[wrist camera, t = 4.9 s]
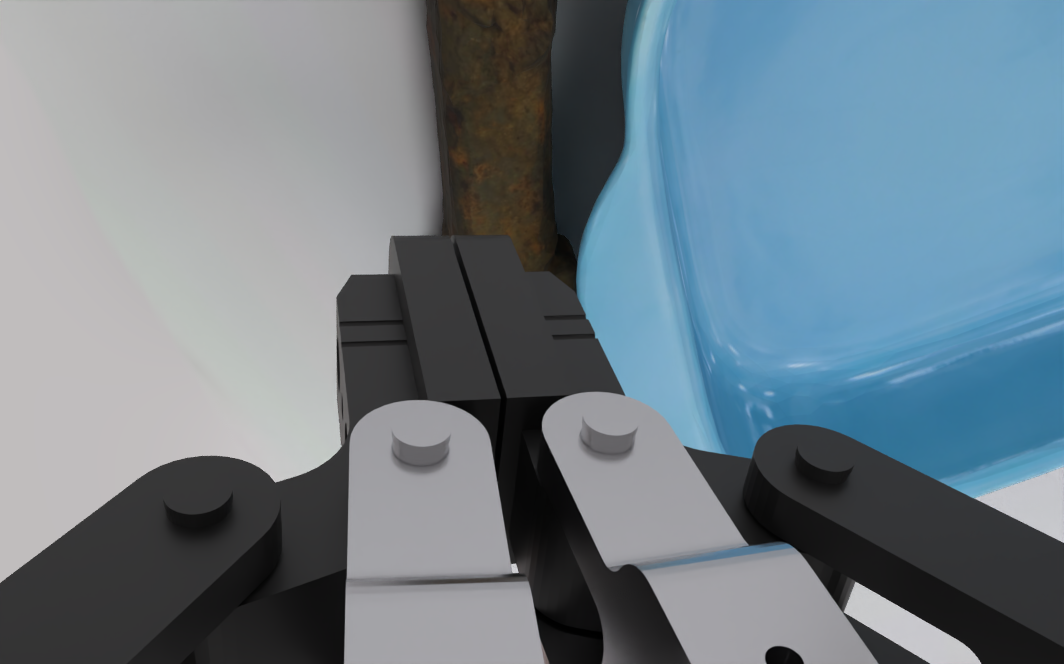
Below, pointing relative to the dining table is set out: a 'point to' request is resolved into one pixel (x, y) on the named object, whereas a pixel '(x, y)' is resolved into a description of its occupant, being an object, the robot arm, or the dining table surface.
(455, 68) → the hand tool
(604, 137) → the dining table surface
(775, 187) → the casserole dish
